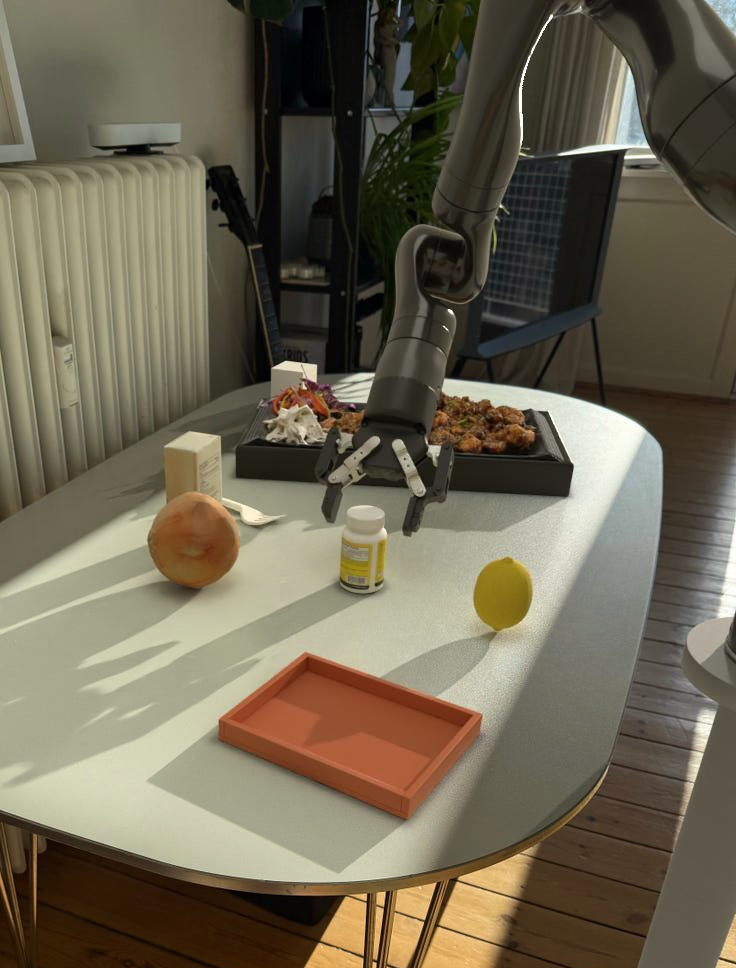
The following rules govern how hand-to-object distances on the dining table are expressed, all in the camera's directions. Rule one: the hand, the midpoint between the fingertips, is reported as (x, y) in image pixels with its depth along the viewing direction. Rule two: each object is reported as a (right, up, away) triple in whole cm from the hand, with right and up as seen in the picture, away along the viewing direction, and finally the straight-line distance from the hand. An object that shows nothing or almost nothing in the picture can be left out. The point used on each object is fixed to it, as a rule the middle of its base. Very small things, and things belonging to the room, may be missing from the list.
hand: (367, 527), depth 98 cm
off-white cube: (-5, +30, +65) cm, 71 cm away
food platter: (+9, +15, +39) cm, 43 cm away
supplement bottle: (0, -6, +3) cm, 7 cm away
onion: (-18, -6, +3) cm, 20 cm away
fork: (-16, +5, +21) cm, 27 cm away
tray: (-4, -20, -22) cm, 30 cm away
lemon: (+12, -11, -6) cm, 18 cm away
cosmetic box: (-19, 0, +13) cm, 23 cm away
